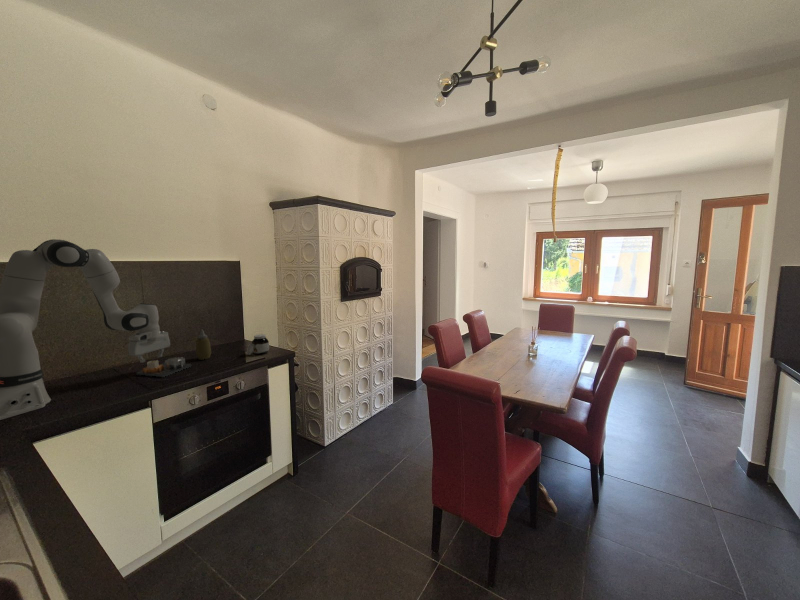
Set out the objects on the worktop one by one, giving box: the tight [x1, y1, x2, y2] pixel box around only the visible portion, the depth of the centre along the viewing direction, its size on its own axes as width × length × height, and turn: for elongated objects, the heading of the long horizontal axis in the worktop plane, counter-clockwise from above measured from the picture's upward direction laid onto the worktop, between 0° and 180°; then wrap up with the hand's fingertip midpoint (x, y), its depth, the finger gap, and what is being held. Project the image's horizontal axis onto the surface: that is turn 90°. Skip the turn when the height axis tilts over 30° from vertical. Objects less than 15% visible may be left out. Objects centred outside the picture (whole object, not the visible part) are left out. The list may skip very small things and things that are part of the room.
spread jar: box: [246, 333, 270, 356], centre depth 205 cm, size 12×11×12 cm
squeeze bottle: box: [195, 328, 212, 361], centre depth 195 cm, size 8×8×18 cm
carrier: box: [136, 356, 192, 378], centre depth 174 cm, size 17×17×6 cm
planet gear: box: [141, 359, 164, 373], centre depth 171 cm, size 9×9×4 cm
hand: (151, 359), depth 170 cm, fingers open, 8 cm apart
